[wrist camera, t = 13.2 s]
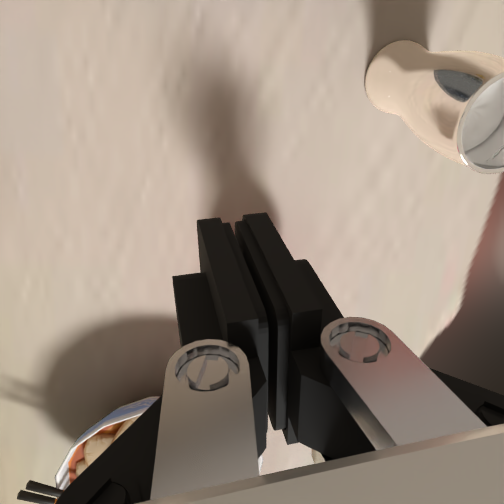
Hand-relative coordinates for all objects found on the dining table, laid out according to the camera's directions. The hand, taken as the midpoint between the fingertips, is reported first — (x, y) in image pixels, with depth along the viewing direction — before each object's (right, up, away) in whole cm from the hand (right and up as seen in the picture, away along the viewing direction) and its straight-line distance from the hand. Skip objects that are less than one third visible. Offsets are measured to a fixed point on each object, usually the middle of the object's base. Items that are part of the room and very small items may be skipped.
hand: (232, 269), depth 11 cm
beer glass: (+13, +16, +30) cm, 36 cm away
